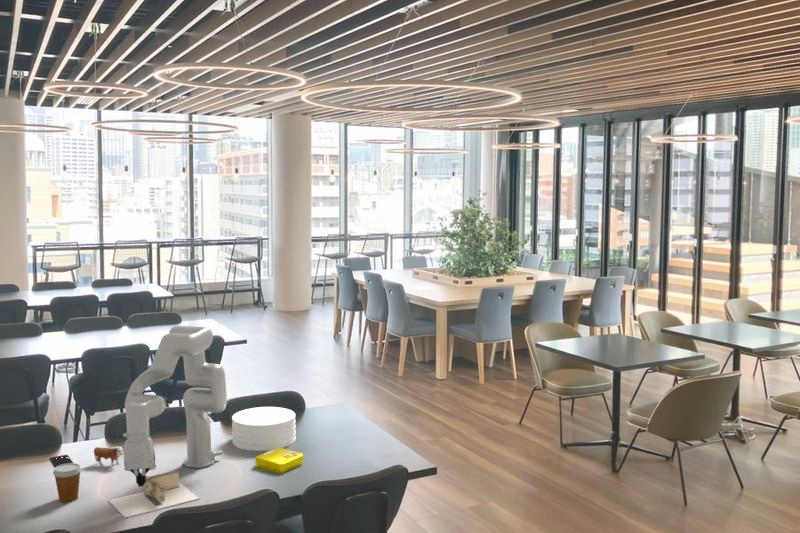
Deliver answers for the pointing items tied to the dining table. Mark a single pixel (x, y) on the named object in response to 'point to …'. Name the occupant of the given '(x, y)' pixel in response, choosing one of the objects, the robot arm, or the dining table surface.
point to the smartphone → (60, 460)
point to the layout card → (146, 503)
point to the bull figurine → (108, 454)
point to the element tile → (279, 460)
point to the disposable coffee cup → (67, 481)
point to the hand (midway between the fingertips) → (141, 485)
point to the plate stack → (263, 428)
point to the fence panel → (155, 490)
